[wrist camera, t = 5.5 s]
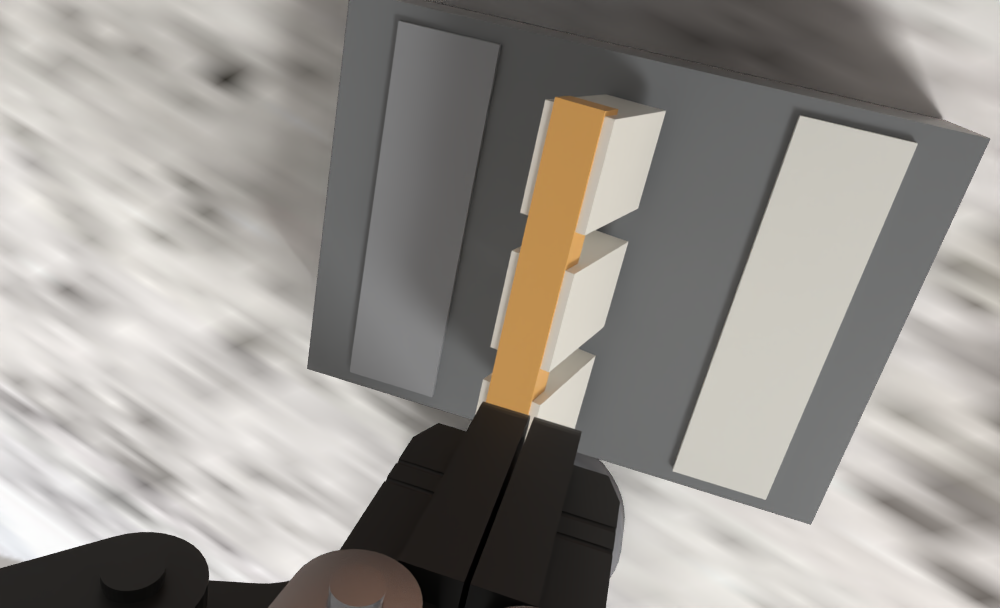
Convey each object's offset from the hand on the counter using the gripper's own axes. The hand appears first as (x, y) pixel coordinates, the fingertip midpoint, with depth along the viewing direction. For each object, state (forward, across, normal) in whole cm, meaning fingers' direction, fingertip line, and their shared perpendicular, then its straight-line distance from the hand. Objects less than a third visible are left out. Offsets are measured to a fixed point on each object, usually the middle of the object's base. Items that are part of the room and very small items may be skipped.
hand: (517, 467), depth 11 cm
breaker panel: (+11, 0, 0) cm, 11 cm away
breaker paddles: (+8, 0, 0) cm, 8 cm away
